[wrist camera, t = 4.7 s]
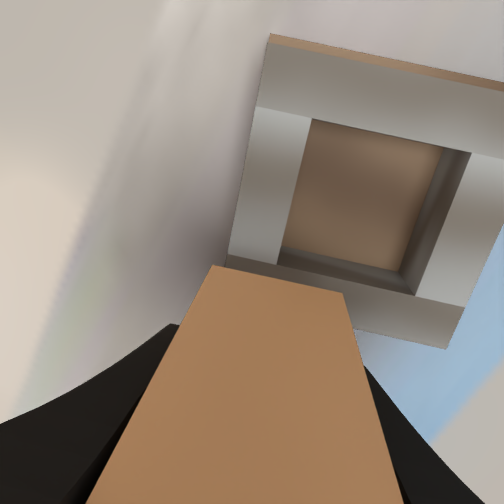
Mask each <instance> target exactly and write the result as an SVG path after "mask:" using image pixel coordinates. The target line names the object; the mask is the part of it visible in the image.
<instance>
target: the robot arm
mask: <svg viewBox="0 0 504 504" xmlns="http://www.w3.org/2000/svg"><path fill="white" fill-rule="evenodd" d="M179 327H180V325H176V324H169V325H167V326H166V327H165V328H163V329H162V330H161V331H159V332H158V333H157V334H155V335H154V336H153V337H152V338H150V339H149V340H148V341H146V342H145V343H144V344H142V345H141V346H140V347H138V348H137V349H135V350H134V351H132V352H131V353H130V354H128V355H127V356H125V357H124V358H122V359H121V360H120V361H118V362H117V363H115V364H114V365H112V366H111V367H109V368H107V369H106V370H104V371H103V372H101V373H99V374H98V375H96V376H95V377H93V378H91V379H90V380H88V381H87V382H85V383H83V384H82V385H80V386H78V387H76V388H74V389H73V390H71V391H69V392H67V393H65V394H64V395H62V396H60V397H58V398H56V399H54V400H52V401H50V402H48V403H46V404H44V405H42V406H40V407H38V408H36V409H33V410H31V411H29V412H26V413H24V414H22V415H20V416H17V417H15V418H13V419H10V420H8V421H6V422H4V423H1V424H0V504H86V502H87V500H88V498H89V496H90V494H91V493H92V491H93V489H94V487H95V485H96V483H97V481H98V479H99V477H100V476H101V474H102V472H103V470H104V468H105V466H106V464H107V462H108V460H109V459H110V457H111V455H112V453H113V451H114V449H115V447H116V445H117V444H118V442H119V440H120V438H121V436H122V434H123V432H124V430H125V428H126V427H127V425H128V423H129V421H130V419H131V417H132V415H133V413H134V411H135V410H136V408H137V406H138V404H139V402H140V400H141V398H142V396H143V394H144V393H145V391H146V389H147V387H148V385H149V383H150V381H151V379H152V377H153V376H154V374H155V372H156V370H157V368H158V366H159V364H160V362H161V360H162V359H163V357H164V355H165V353H166V351H167V349H168V347H169V345H170V343H171V342H172V340H173V338H174V336H175V334H176V332H177V330H178V328H179ZM364 369H365V373H366V376H367V379H368V383H369V386H370V390H371V393H372V397H373V400H374V403H375V407H376V410H377V414H378V417H379V421H380V424H381V428H382V431H383V434H384V438H385V441H386V445H387V448H388V452H389V455H390V458H391V462H392V465H393V469H394V472H395V476H396V479H397V482H398V486H399V489H400V493H401V496H402V500H403V503H404V504H485V503H483V501H482V500H480V499H479V497H478V496H476V495H475V494H474V493H473V492H472V491H471V490H470V489H469V488H468V487H467V486H466V485H465V484H464V483H463V482H462V481H461V480H460V479H459V478H458V477H457V475H456V474H455V473H454V472H453V471H452V470H451V469H450V468H449V467H448V466H447V465H446V464H445V463H444V462H443V460H442V459H441V458H440V457H439V456H438V455H437V454H436V453H435V452H434V450H433V449H432V448H431V447H430V446H429V445H428V444H427V443H426V441H425V440H424V439H423V438H422V437H421V436H420V434H419V433H418V432H417V431H416V430H415V429H414V427H413V426H412V425H411V424H410V423H409V421H408V420H407V419H406V418H405V416H404V415H403V414H402V413H401V411H400V410H399V409H398V408H397V406H396V405H395V404H394V403H393V401H392V400H391V399H390V397H389V396H388V395H387V394H386V392H385V391H384V390H383V388H382V387H381V386H380V385H379V383H378V382H377V381H376V379H375V378H374V377H373V376H372V374H371V373H370V372H369V371H368V369H367V368H366V367H365V366H364Z"/></svg>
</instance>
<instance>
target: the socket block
mask: <svg viewBox="0 0 504 504" xmlns="http://www.w3.org/2000/svg"><path fill="white" fill-rule="evenodd" d="M503 223H504V83H503V82H499V81H494V80H489V79H484V78H480V77H475V76H470V75H465V74H461V73H456V72H451V71H446V70H442V69H437V68H432V67H427V66H423V65H418V64H413V63H408V62H404V61H399V60H394V59H389V58H385V57H380V56H375V55H370V54H366V53H361V52H356V51H351V50H347V49H342V48H337V47H332V46H328V45H323V44H318V43H313V42H309V41H304V40H299V39H294V38H290V37H285V36H280V35H275V34H271V33H270V38H269V42H268V43H267V49H266V54H265V59H264V64H263V70H262V75H261V80H260V85H259V91H258V96H257V101H256V106H255V111H254V117H253V122H252V127H251V132H250V138H249V143H248V148H247V153H246V158H245V164H244V169H243V174H242V179H241V185H240V190H239V195H238V200H237V206H236V211H235V216H234V221H233V226H232V232H231V237H230V242H229V247H228V253H227V258H226V263H225V268H230V269H234V270H239V271H243V272H248V273H252V274H257V275H262V276H266V277H271V278H275V279H280V280H285V281H289V282H294V283H298V284H303V285H307V286H312V287H317V288H321V289H326V290H330V291H335V292H339V293H342V294H343V297H344V300H345V304H346V307H347V311H348V314H349V318H350V321H351V324H352V328H354V329H358V330H363V331H367V332H371V333H376V334H380V335H385V336H389V337H393V338H398V339H402V340H406V341H411V342H415V343H420V344H424V345H428V346H433V347H437V348H442V349H446V348H447V346H448V344H449V342H450V340H451V338H452V335H453V333H454V331H455V329H456V327H457V324H458V322H459V320H460V318H461V316H462V313H463V311H464V309H465V307H466V305H467V302H468V300H469V298H470V296H471V294H472V291H473V289H474V287H475V285H476V283H477V280H478V278H479V276H480V274H481V272H482V270H483V267H484V265H485V263H486V261H487V259H488V256H489V254H490V252H491V250H492V248H493V245H494V243H495V241H496V239H497V237H498V234H499V232H500V230H501V228H502V226H503Z"/></svg>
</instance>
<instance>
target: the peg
mask: <svg viewBox="0 0 504 504" xmlns="http://www.w3.org/2000/svg"><path fill="white" fill-rule="evenodd" d="M86 504H404V503H403V500H402V496H401V493H400V489H399V486H398V482H397V479H396V476H395V472H394V469H393V465H392V462H391V458H390V455H389V452H388V448H387V445H386V441H385V438H384V434H383V431H382V428H381V424H380V421H379V417H378V414H377V410H376V407H375V403H374V400H373V397H372V393H371V390H370V386H369V383H368V379H367V376H366V373H365V369H364V366H363V362H362V359H361V355H360V352H359V349H358V345H357V342H356V338H355V335H354V331H353V328H352V324H351V321H350V318H349V314H348V311H347V307H346V304H345V300H344V297H343V294H342V293H339V292H335V291H330V290H326V289H321V288H317V287H312V286H307V285H303V284H298V283H294V282H289V281H285V280H280V279H275V278H271V277H266V276H262V275H257V274H252V273H248V272H243V271H239V270H234V269H230V268H225V267H220V266H216V265H212V266H211V268H210V270H209V272H208V274H207V276H206V277H205V279H204V281H203V283H202V285H201V287H200V289H199V291H198V293H197V294H196V296H195V298H194V300H193V302H192V304H191V306H190V308H189V310H188V311H187V313H186V315H185V317H184V319H183V321H182V323H181V325H180V327H179V328H178V330H177V332H176V334H175V336H174V338H173V340H172V342H171V343H170V345H169V347H168V349H167V351H166V353H165V355H164V357H163V359H162V360H161V362H160V364H159V366H158V368H157V370H156V372H155V374H154V376H153V377H152V379H151V381H150V383H149V385H148V387H147V389H146V391H145V393H144V394H143V396H142V398H141V400H140V402H139V404H138V406H137V408H136V410H135V411H134V413H133V415H132V417H131V419H130V421H129V423H128V425H127V427H126V428H125V430H124V432H123V434H122V436H121V438H120V440H119V442H118V444H117V445H116V447H115V449H114V451H113V453H112V455H111V457H110V459H109V460H108V462H107V464H106V466H105V468H104V470H103V472H102V474H101V476H100V477H99V479H98V481H97V483H96V485H95V487H94V489H93V491H92V493H91V494H90V496H89V498H88V500H87V502H86Z"/></svg>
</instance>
